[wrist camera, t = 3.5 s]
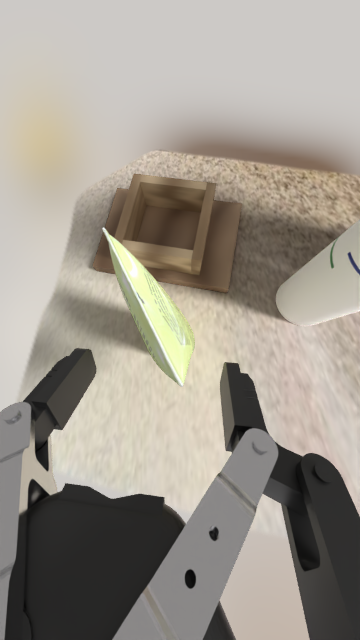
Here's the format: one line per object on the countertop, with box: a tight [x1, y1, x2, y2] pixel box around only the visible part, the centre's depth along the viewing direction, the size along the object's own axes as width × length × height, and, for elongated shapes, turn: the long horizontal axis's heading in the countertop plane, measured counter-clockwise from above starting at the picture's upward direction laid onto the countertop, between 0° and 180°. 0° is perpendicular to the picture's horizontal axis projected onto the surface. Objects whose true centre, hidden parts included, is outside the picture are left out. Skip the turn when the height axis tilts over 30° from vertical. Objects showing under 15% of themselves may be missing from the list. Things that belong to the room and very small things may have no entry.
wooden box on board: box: [93, 174, 242, 293], centre depth 27 cm, size 20×14×6 cm
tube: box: [102, 228, 195, 387], centre depth 17 cm, size 6×5×20 cm
